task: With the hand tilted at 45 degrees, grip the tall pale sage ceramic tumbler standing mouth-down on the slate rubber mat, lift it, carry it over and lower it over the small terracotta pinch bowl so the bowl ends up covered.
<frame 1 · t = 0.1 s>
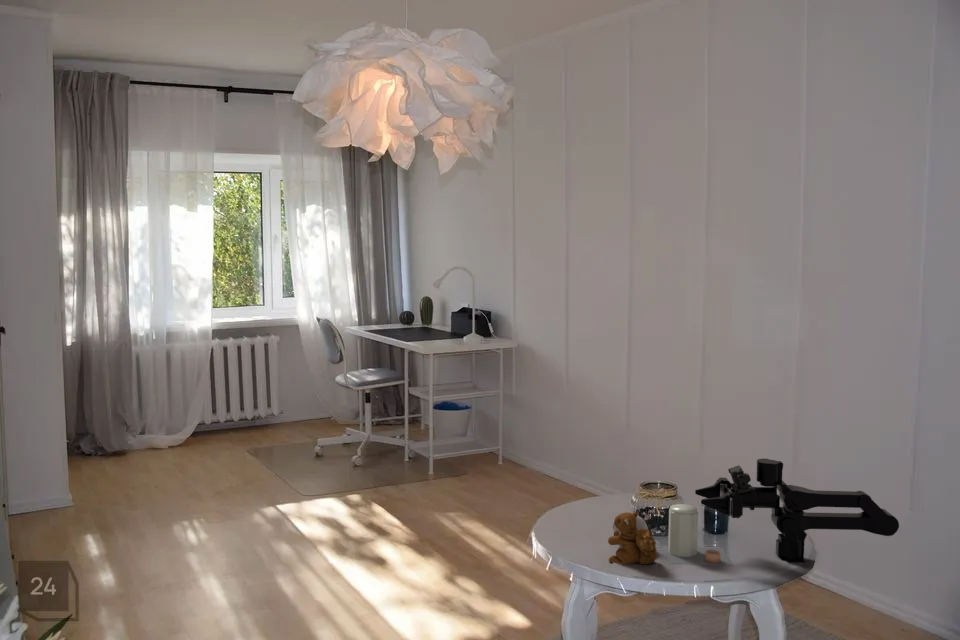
hand: (698, 496, 247), 17 cm above the table, tool horizontal, fingers open, 9 cm apart
pinch bowl: (712, 560, 243), resting on slate mat
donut: (630, 548, 254), on the table
stuffed squirrel: (634, 562, 243), on the table
sage tumbler: (682, 552, 250), resting on slate mat
slate mat: (696, 556, 247), on the table
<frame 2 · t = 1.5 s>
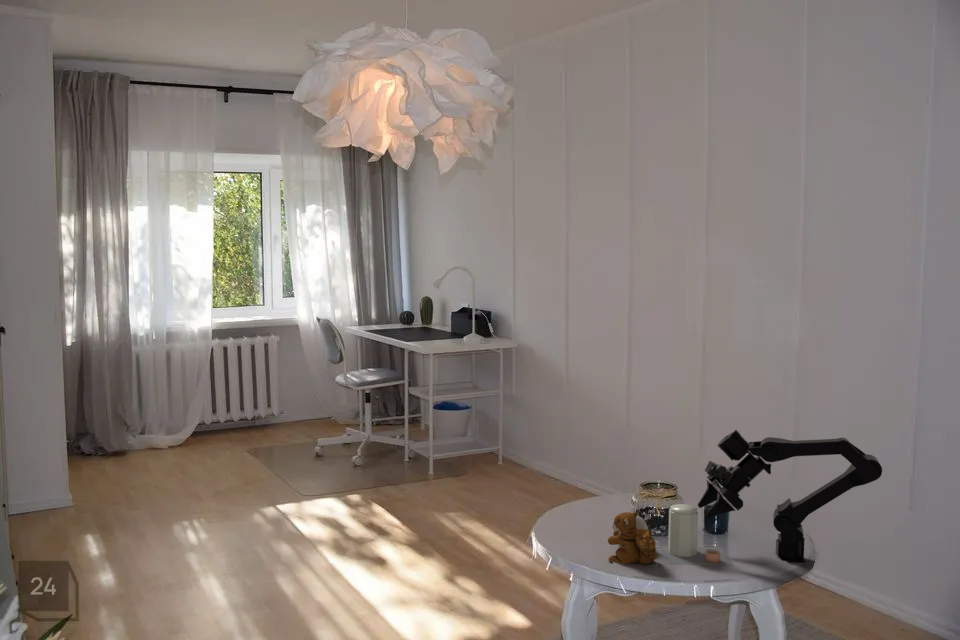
hand: (702, 511, 249), 12 cm above the table, tool tilted 45°, fingers open, 9 cm apart
nothing on the table moved.
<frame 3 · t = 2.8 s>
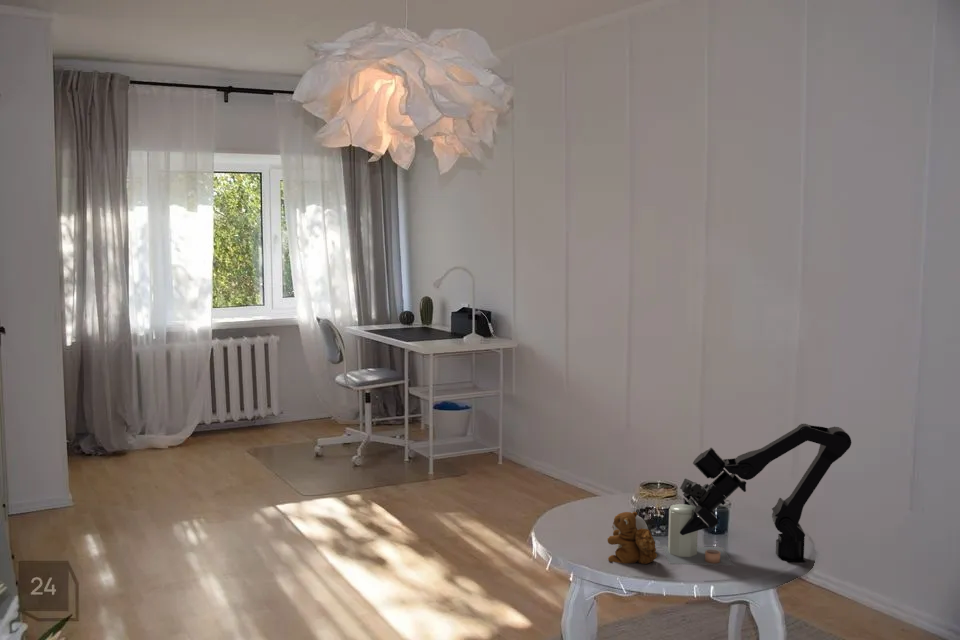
hand: (677, 529, 249), 7 cm above the table, tool tilted 45°, fingers closed on sage tumbler, 8 cm apart
sage tumbler: (682, 552, 250), resting on slate mat, touching gripper
everything else where it was.
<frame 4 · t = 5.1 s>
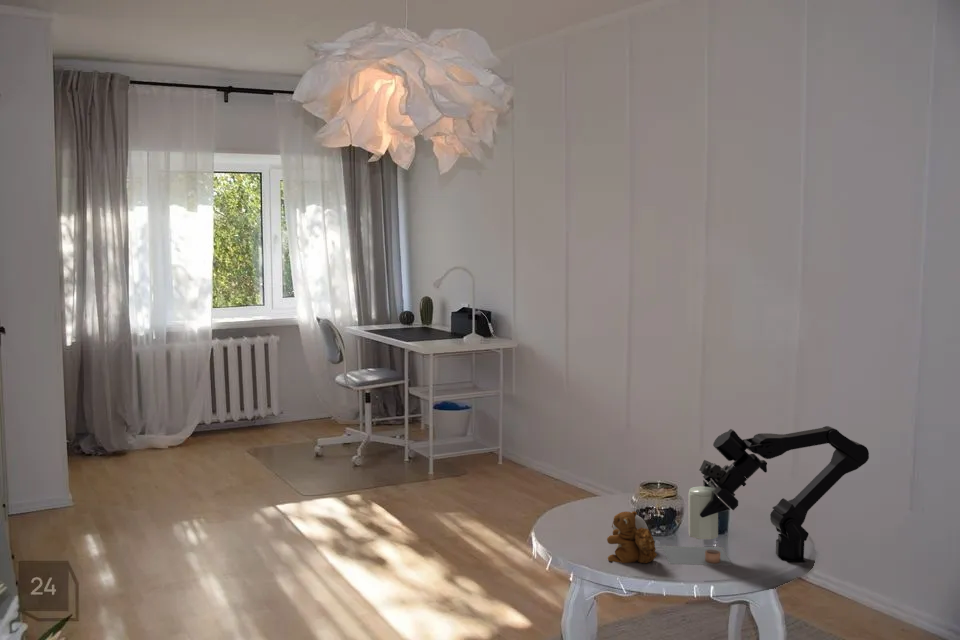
hand: (698, 511, 245), 13 cm above the table, tool tilted 45°, fingers closed on sage tumbler, 7 cm apart
sage tumbler: (703, 534, 245), point 7 cm above the table, touching gripper
when the fingers open (8 cm above the table, at t = 7.2 s): sage tumbler drops 1 cm, resting on slate mat.
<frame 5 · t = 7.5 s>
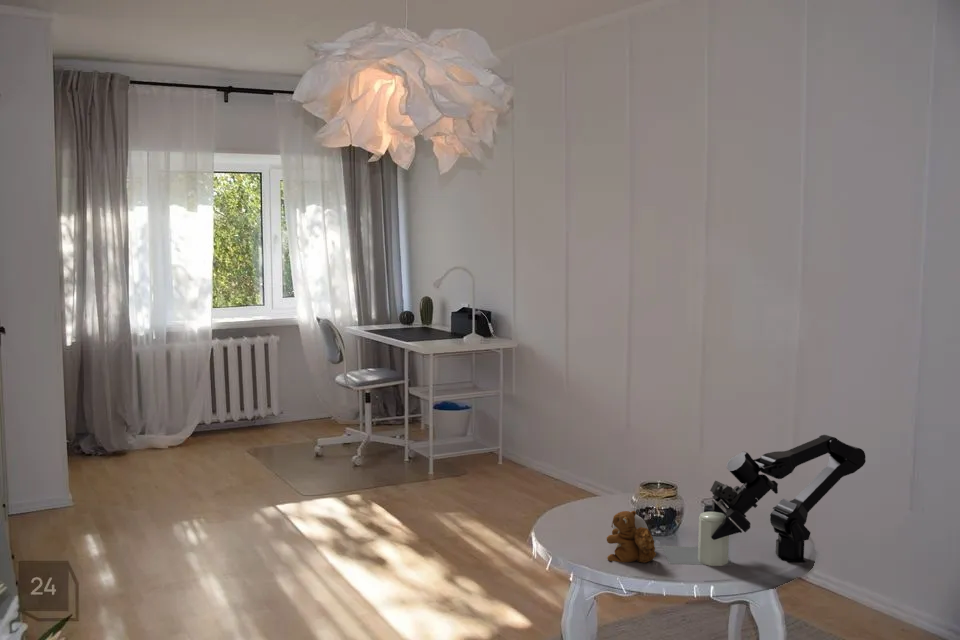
hand: (708, 532, 242), 8 cm above the table, tool tilted 45°, fingers open, 9 cm apart
sage tumbler: (712, 560, 243), resting on slate mat
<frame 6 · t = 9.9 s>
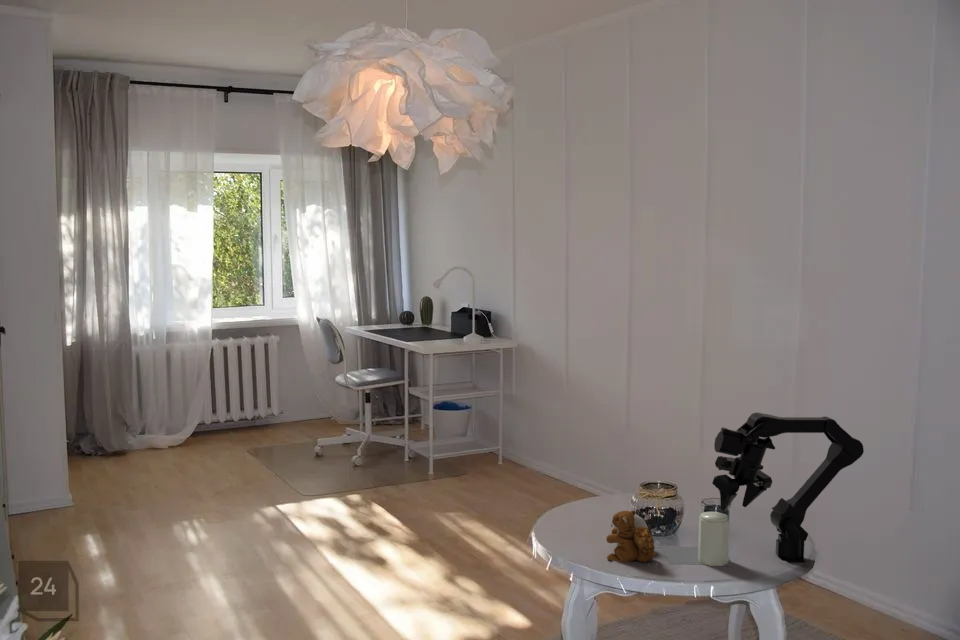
hand: (733, 508, 249), 13 cm above the table, tool tilted 20°, fingers open, 9 cm apart
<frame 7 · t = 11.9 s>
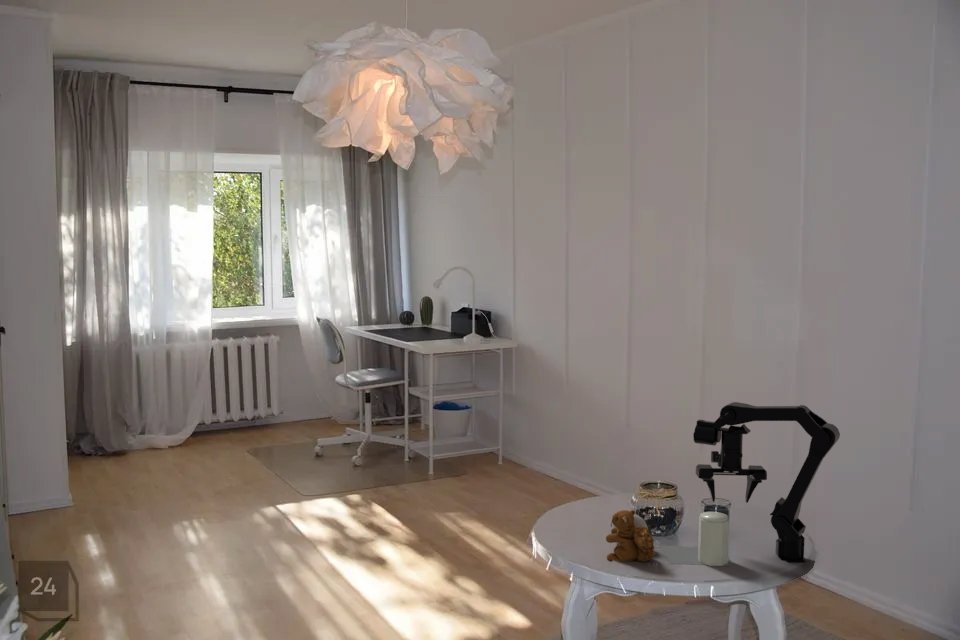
hand: (730, 501, 254), 13 cm above the table, tool pointing down, fingers open, 9 cm apart
at the end: sage tumbler 0.1 cm from the pinch bowl (horizontally); sage tumbler tilted 0°; sage tumbler resting on slate mat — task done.
